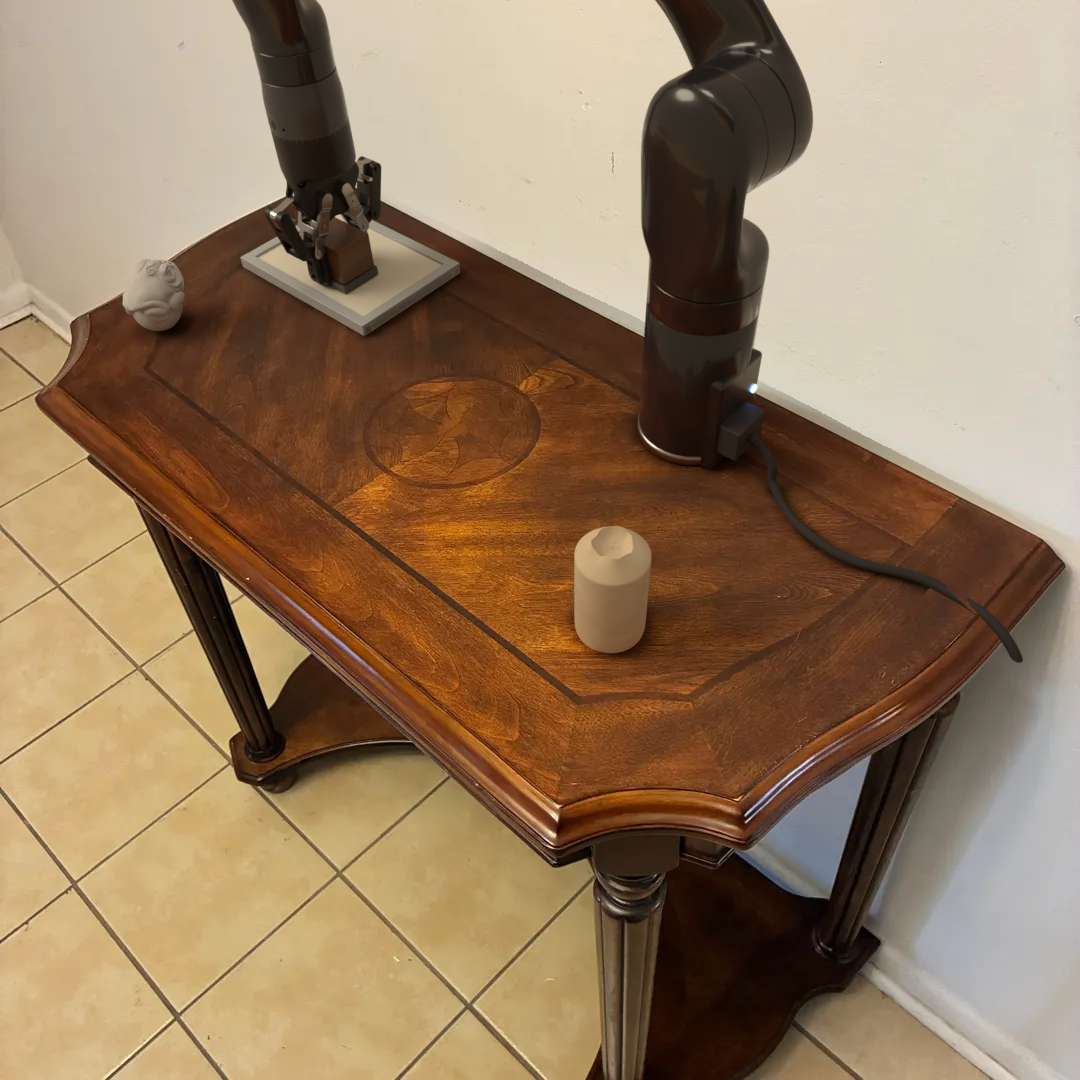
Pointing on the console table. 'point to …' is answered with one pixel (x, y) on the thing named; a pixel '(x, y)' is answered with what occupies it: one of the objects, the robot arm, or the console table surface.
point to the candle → (611, 588)
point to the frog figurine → (155, 294)
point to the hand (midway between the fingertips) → (343, 271)
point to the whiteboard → (395, 288)
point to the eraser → (348, 256)
